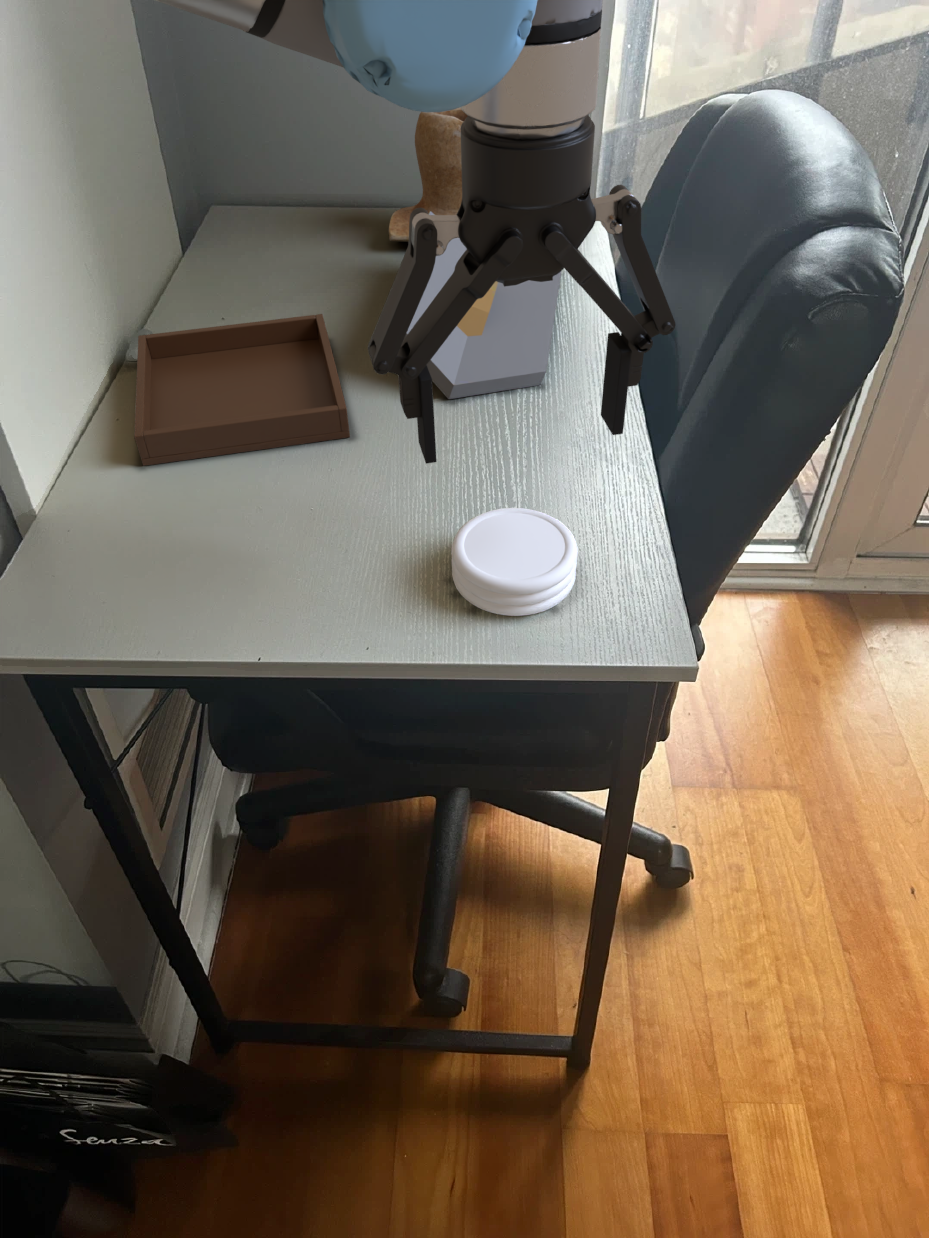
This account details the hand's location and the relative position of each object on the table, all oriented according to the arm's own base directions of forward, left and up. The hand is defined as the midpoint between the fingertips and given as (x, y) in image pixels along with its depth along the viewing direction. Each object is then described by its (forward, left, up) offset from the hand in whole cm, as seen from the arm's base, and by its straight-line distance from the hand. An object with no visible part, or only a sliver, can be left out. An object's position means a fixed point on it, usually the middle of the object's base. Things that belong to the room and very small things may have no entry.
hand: (520, 438), depth 67 cm
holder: (-20, +33, -13) cm, 41 cm away
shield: (+7, +41, -14) cm, 44 cm away
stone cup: (+9, +68, -14) cm, 70 cm away
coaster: (0, 0, -14) cm, 14 cm away
